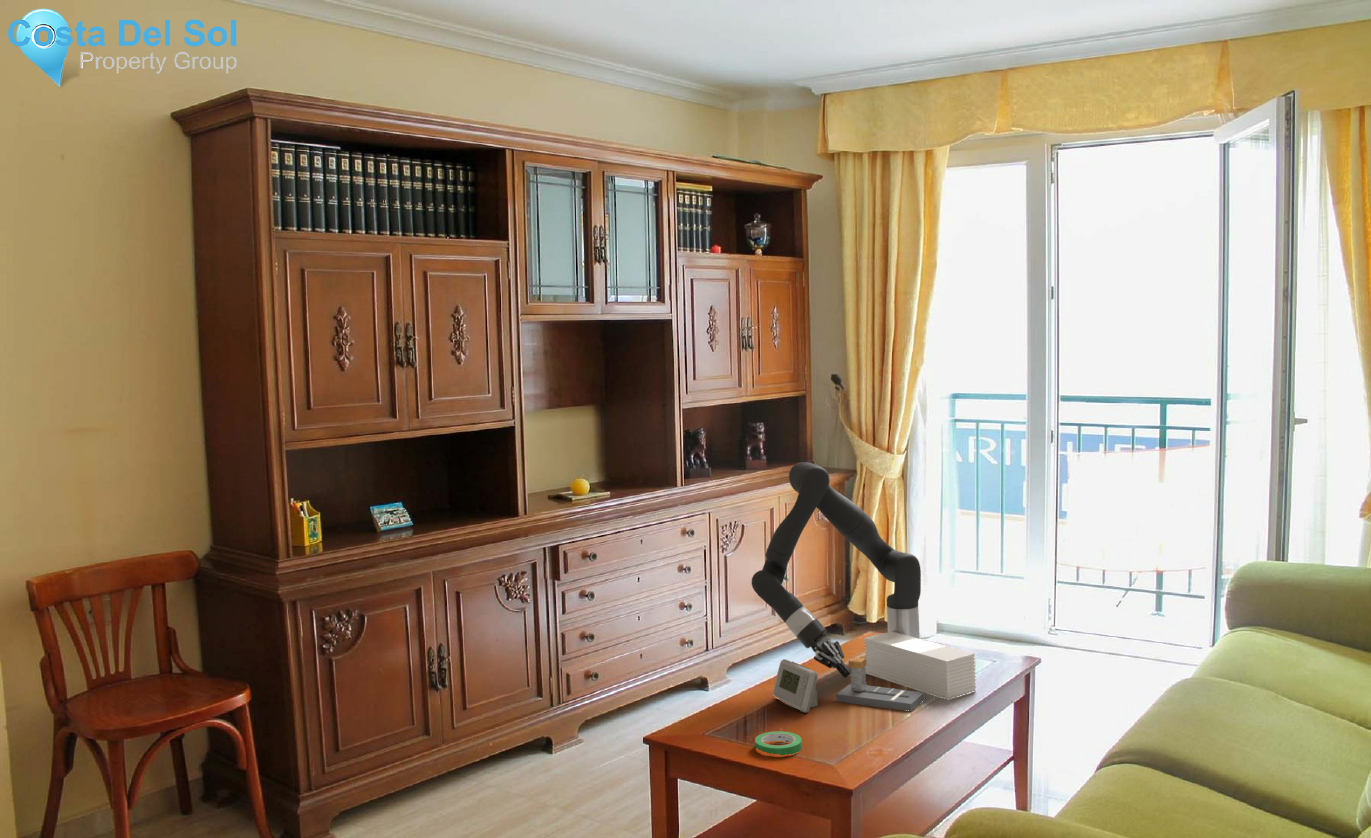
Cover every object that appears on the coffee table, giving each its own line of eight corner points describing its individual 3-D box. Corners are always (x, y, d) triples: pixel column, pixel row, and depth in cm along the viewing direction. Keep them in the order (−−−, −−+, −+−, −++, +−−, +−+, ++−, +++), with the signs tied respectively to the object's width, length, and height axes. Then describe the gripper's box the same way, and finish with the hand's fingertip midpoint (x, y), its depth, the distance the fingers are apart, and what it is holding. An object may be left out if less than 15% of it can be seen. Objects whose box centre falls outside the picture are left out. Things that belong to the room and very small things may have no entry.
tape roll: (811, 748, 251) (810, 737, 251) (782, 762, 243) (782, 751, 243) (774, 738, 259) (774, 727, 258) (745, 752, 251) (745, 741, 250)
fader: (855, 686, 287) (853, 657, 287) (867, 688, 285) (866, 658, 285) (849, 690, 284) (848, 660, 284) (862, 692, 282) (861, 662, 282)
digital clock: (770, 698, 289) (768, 660, 288) (801, 693, 291) (799, 655, 290) (792, 716, 273) (790, 676, 272) (824, 711, 275) (823, 671, 275)
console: (851, 690, 291) (850, 682, 291) (924, 700, 280) (924, 692, 280) (836, 701, 283) (835, 693, 283) (911, 711, 272) (911, 703, 272)
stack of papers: (975, 692, 285) (974, 653, 284) (947, 701, 279) (946, 661, 279) (893, 667, 312) (891, 631, 311) (866, 674, 306) (864, 637, 306)
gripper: (803, 624, 285) (847, 673, 279) (824, 612, 296) (866, 660, 290) (786, 641, 288) (830, 691, 282) (807, 629, 299) (849, 677, 293)
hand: (848, 675), depth 286 cm, fingers closed
